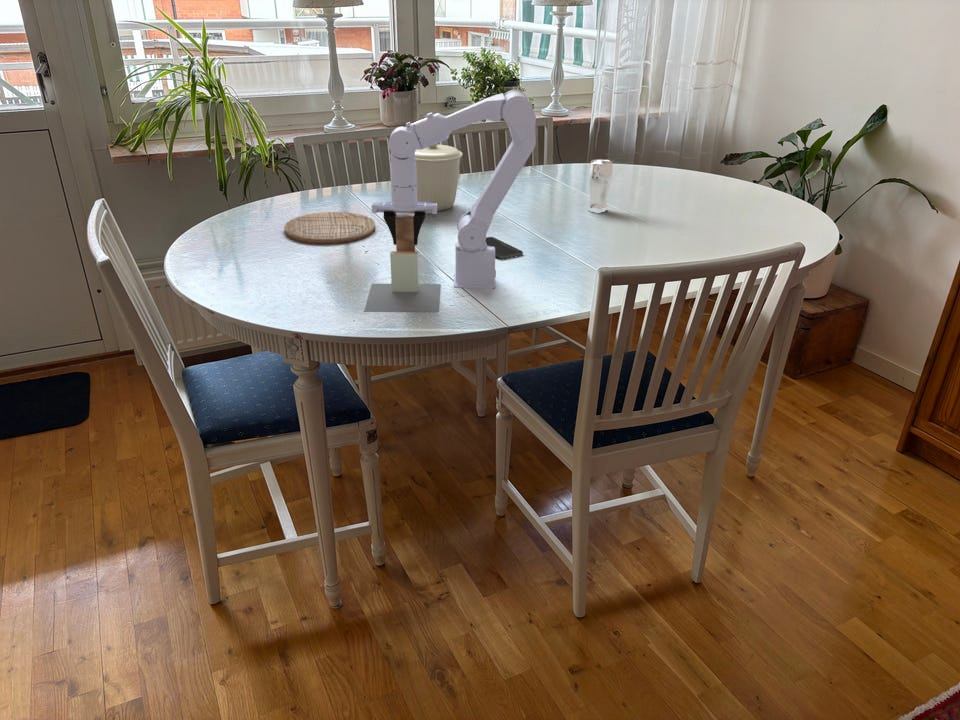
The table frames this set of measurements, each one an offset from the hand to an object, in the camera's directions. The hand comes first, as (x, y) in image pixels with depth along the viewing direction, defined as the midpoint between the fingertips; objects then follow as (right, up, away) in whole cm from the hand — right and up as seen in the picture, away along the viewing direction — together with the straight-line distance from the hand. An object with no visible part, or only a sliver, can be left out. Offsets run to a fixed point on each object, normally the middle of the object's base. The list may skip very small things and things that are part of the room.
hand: (405, 243), depth 169 cm
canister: (+2, +21, +61) cm, 64 cm away
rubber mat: (0, -13, -4) cm, 14 cm away
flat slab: (0, -11, -1) cm, 11 cm away
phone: (+21, +2, +27) cm, 34 cm away
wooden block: (0, -2, +1) cm, 3 cm away
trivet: (-25, +9, +39) cm, 47 cm away
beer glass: (+53, +20, +60) cm, 83 cm away
